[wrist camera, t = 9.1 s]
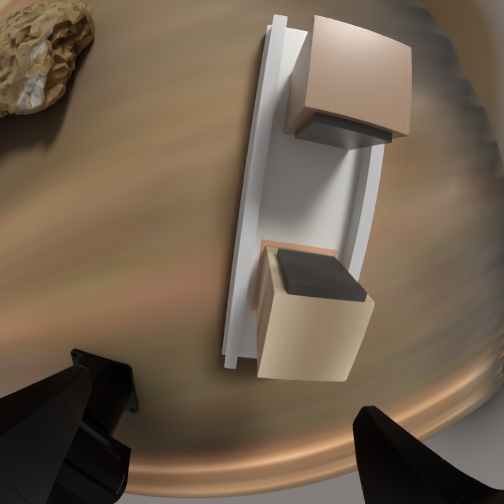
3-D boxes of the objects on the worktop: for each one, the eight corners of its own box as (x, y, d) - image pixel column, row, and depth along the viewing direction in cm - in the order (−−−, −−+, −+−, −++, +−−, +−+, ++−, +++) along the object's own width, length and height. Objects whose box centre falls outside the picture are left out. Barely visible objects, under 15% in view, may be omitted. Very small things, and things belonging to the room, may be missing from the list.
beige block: (332, 248, 17) (378, 294, 10) (317, 312, 18) (345, 381, 12) (267, 238, 17) (276, 282, 10) (256, 306, 18) (257, 377, 11)
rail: (323, 355, 21) (349, 431, 13) (223, 346, 20) (210, 427, 13) (378, 58, 14) (438, 13, 7) (267, 31, 14) (274, -41, 6)
